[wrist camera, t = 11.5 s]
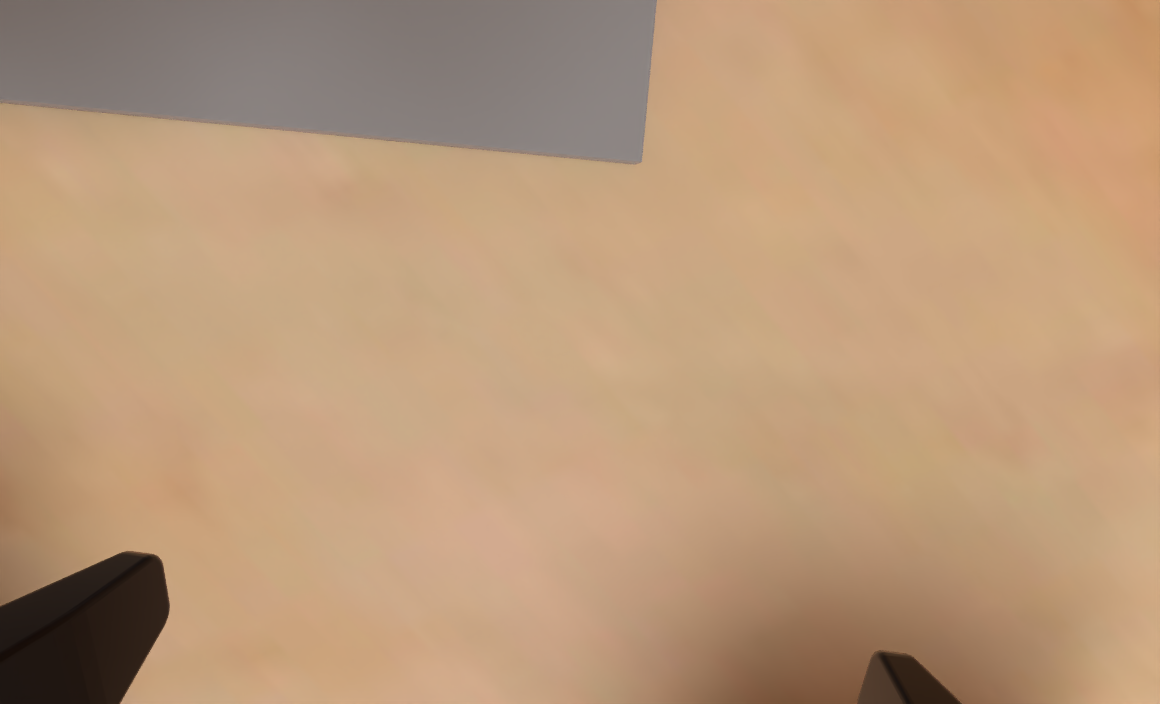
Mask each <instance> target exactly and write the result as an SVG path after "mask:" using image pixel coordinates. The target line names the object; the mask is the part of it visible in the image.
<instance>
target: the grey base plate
mask: <svg viewBox="0 0 1160 704" xmlns="http://www.w3.org/2000/svg"><path fill="white" fill-rule="evenodd" d="M656 2H657V0H0V103H10V104H20V105H30V106H40V107H51V108H61V109H71V110H81V111H92V112H102V113H112V114H123V115H133V116H143V117H153V118H164V119H174V120H184V121H194V122H205V123H215V124H225V125H235V126H246V127H256V128H266V129H276V130H287V131H297V132H307V133H317V134H328V135H338V136H348V137H359V138H369V139H379V140H389V141H400V142H410V143H420V144H430V145H441V146H451V147H461V148H471V149H482V150H492V151H502V152H512V153H523V154H533V155H543V156H554V157H564V158H574V159H584V160H595V161H605V162H615V163H625V164H638V163H640V162H642V153H643V142H644V132H645V121H646V110H647V99H648V88H649V78H650V67H651V56H652V45H653V34H654V23H655V13H656Z"/></svg>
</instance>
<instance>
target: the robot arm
mask: <svg viewBox="0 0 1160 704" xmlns="http://www.w3.org/2000/svg"><path fill="white" fill-rule="evenodd" d="M169 608H170V604H169V597H168V591H167V585H166V579H165V573H164V567H163V563H162V560H161V559H160V558H159V557H158V556H156V555H154V554H149V553H141V552H134V551H126V552H122V553H119V554H117V555H115V556H113V557H110V558H108V559H106V560H104V561H101V562H99V563H97V564H95V565H92V566H90V567H88V568H86V569H83V570H81V571H79V572H77V573H74V574H72V575H70V576H68V577H65V578H63V579H61V580H59V581H56V582H54V583H52V584H50V585H47V586H45V587H43V588H41V589H38V590H36V591H34V592H32V593H29V594H27V595H25V596H23V597H20V598H18V599H16V600H14V601H11V602H9V603H7V604H5V605H2V606H0V704H120V703H121V701H122V699H123V697H124V696H125V694H126V692H127V690H128V689H129V687H130V685H131V683H132V682H133V680H134V678H135V676H136V675H137V673H138V671H139V669H140V668H141V666H142V664H143V662H144V661H145V659H146V657H147V655H148V654H149V652H150V650H151V648H152V647H153V645H154V643H155V641H156V640H157V638H158V636H159V634H160V633H161V631H162V629H163V627H164V625H165V623H166V621H167V618H168V615H169ZM857 704H962V703H961V702H960V701H959V700H958V699H957V698H956V697H955V696H954V695H952V694H951V693H950V692H949V691H948V690H947V689H946V688H945V687H944V686H943V685H942V684H941V683H940V682H939V681H938V680H937V679H936V678H935V677H934V676H933V675H932V674H931V673H930V672H929V671H928V670H927V669H926V668H924V667H923V666H922V665H921V664H920V663H919V662H918V661H917V660H916V659H915V658H914V657H912V656H911V655H908V654H905V653H897V652H890V651H877V652H875V653H874V654H873V655H872V657H871V660H870V663H869V666H868V669H867V672H866V675H865V678H864V682H863V685H862V688H861V691H860V694H859V698H858V703H857Z"/></svg>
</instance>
